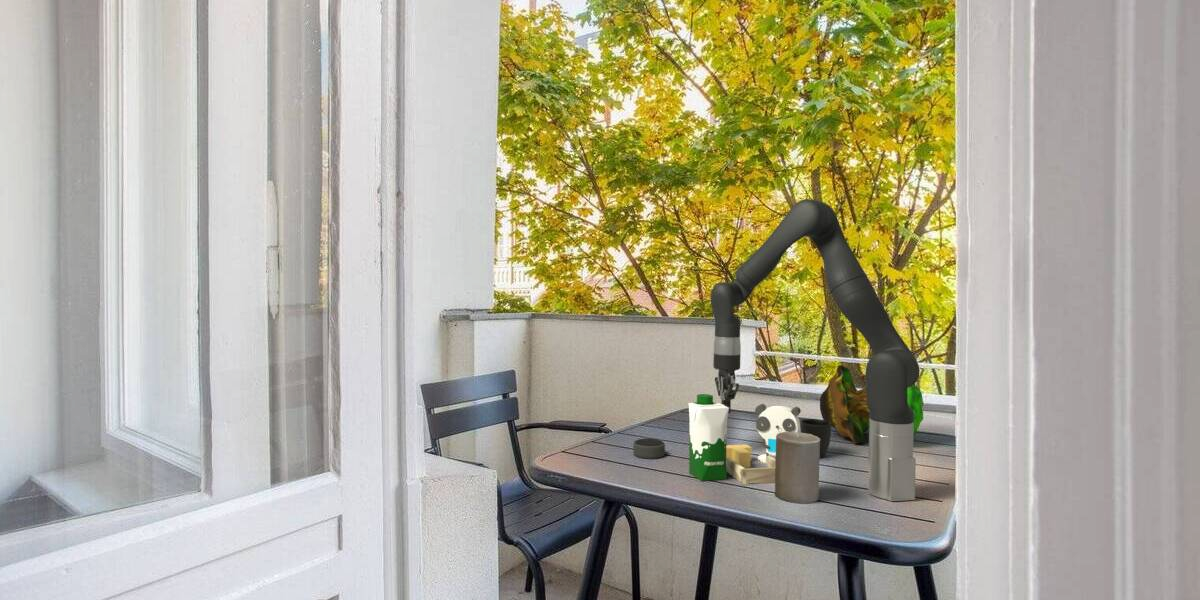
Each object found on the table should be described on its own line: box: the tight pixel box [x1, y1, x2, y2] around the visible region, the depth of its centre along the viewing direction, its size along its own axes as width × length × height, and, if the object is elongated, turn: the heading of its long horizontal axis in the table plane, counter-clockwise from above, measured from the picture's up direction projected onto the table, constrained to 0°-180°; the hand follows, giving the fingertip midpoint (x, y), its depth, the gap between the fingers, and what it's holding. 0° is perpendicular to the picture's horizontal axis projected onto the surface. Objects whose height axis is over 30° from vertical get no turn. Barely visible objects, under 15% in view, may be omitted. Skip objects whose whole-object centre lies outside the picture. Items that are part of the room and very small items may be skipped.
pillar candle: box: [774, 431, 821, 505], centre depth 138 cm, size 10×10×15 cm
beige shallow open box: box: [726, 456, 775, 485], centre depth 153 cm, size 11×12×4 cm
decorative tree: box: [819, 364, 925, 445], centre depth 191 cm, size 27×28×30 cm
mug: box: [799, 418, 832, 459], centre depth 175 cm, size 8×12×10 cm
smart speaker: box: [632, 438, 666, 460], centre depth 172 cm, size 9×9×4 cm
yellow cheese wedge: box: [726, 444, 752, 469], centre depth 164 cm, size 8×8×4 cm
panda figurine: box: [754, 403, 802, 464], centre depth 167 cm, size 12×11×15 cm
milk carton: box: [688, 393, 729, 482], centre depth 153 cm, size 9×9×20 cm
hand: (725, 412), depth 173 cm, fingers closed
